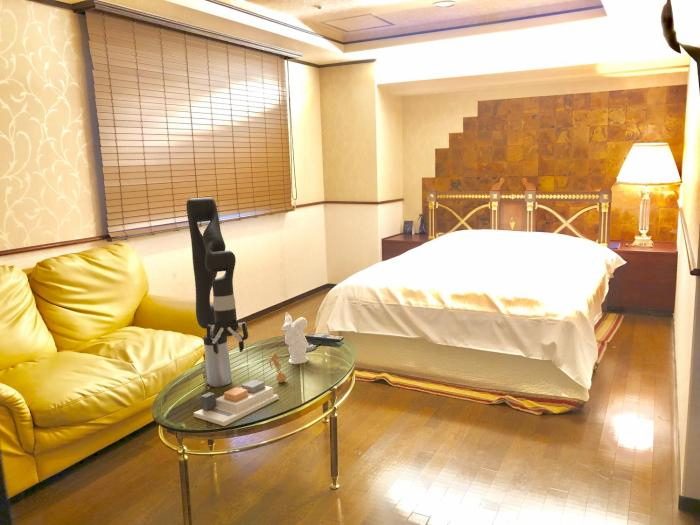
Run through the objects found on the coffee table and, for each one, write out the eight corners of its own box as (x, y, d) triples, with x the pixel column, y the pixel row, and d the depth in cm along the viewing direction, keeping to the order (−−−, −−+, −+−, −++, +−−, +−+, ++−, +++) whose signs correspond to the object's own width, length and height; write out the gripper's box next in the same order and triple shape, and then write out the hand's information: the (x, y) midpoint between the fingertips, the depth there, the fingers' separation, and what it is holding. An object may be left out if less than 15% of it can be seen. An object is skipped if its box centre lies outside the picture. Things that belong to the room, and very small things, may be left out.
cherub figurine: (314, 361, 253) (310, 312, 250) (292, 369, 245) (288, 319, 241) (296, 355, 262) (292, 309, 258) (274, 363, 253) (270, 315, 249)
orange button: (224, 401, 206) (223, 392, 206) (237, 395, 211) (236, 387, 210) (235, 404, 203) (234, 395, 202) (248, 398, 207) (247, 389, 207)
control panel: (194, 416, 202) (192, 405, 201) (248, 391, 222) (247, 381, 222) (224, 426, 192) (222, 414, 192) (278, 398, 212) (277, 388, 212)
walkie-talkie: (303, 357, 261) (323, 344, 279) (302, 347, 260) (322, 335, 278) (286, 355, 264) (307, 343, 282) (285, 346, 264) (306, 334, 282)
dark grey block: (202, 409, 203) (200, 395, 203) (211, 405, 206) (209, 392, 206) (207, 410, 201) (206, 397, 201) (216, 406, 205) (215, 393, 204)
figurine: (280, 386, 225) (277, 357, 223) (267, 385, 228) (264, 356, 226) (291, 379, 232) (288, 350, 230) (279, 377, 235) (276, 349, 233)
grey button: (242, 392, 213) (241, 384, 212) (254, 387, 217) (253, 379, 217) (253, 395, 209) (252, 387, 209) (265, 390, 214) (264, 382, 213)
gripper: (246, 304, 206) (250, 348, 208) (207, 307, 206) (211, 351, 208) (243, 308, 199) (247, 353, 200) (202, 311, 198) (206, 356, 200)
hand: (229, 352), depth 204 cm, fingers open, 8 cm apart
